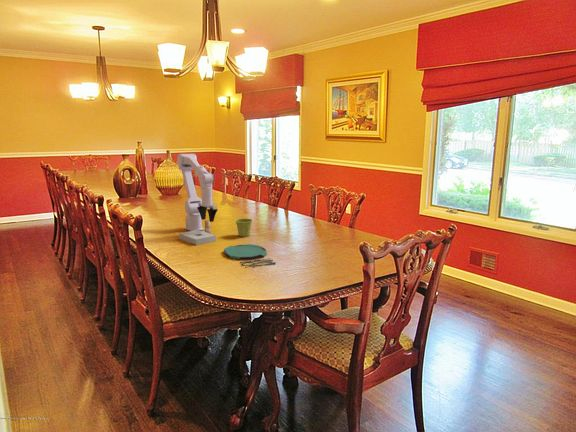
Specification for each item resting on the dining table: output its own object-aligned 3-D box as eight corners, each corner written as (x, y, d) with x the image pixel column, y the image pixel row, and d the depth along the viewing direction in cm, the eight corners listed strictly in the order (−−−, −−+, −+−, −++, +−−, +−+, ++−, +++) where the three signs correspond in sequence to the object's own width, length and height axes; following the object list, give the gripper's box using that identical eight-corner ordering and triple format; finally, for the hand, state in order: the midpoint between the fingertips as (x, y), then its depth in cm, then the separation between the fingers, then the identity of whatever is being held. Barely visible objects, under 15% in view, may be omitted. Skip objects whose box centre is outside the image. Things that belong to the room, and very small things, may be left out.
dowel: (203, 235, 234) (203, 220, 232) (208, 234, 236) (208, 220, 234) (207, 236, 231) (206, 221, 230) (211, 235, 234) (211, 220, 232)
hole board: (179, 239, 224) (179, 233, 224) (198, 235, 233) (198, 229, 232) (196, 245, 213) (196, 239, 213) (216, 241, 222) (215, 235, 221)
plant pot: (236, 238, 228) (236, 222, 226) (234, 233, 237) (234, 218, 235) (253, 237, 231) (254, 221, 229) (250, 233, 239) (250, 218, 238)
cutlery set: (258, 246, 214) (258, 242, 213) (280, 265, 187) (280, 260, 186) (219, 250, 206) (219, 246, 206) (236, 271, 179) (236, 266, 179)
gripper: (193, 194, 231) (193, 219, 234) (208, 198, 221) (209, 223, 224) (203, 193, 236) (204, 217, 239) (219, 196, 226) (220, 221, 229)
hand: (207, 220), depth 232 cm, fingers open, 7 cm apart
